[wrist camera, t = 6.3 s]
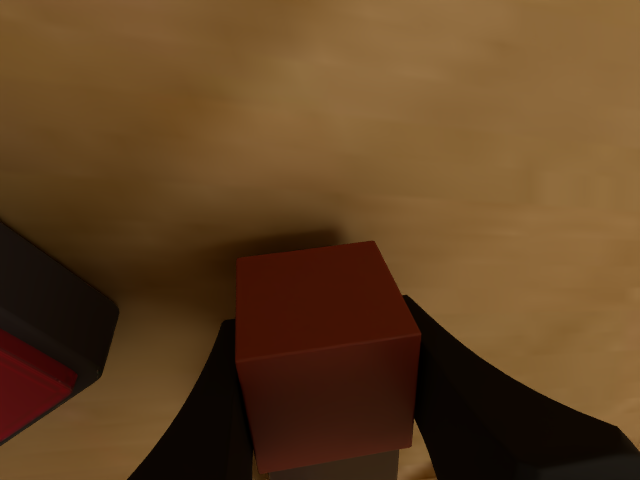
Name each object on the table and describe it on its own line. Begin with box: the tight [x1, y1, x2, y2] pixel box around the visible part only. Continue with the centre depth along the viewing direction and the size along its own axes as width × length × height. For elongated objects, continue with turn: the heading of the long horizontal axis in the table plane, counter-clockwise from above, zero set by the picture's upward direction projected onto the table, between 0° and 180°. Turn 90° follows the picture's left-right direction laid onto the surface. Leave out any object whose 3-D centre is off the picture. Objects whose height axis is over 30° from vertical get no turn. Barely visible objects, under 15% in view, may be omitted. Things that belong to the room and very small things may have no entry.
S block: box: [235, 241, 421, 474], centre depth 13 cm, size 4×4×4 cm
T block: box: [268, 449, 399, 480], centre depth 17 cm, size 4×4×4 cm
